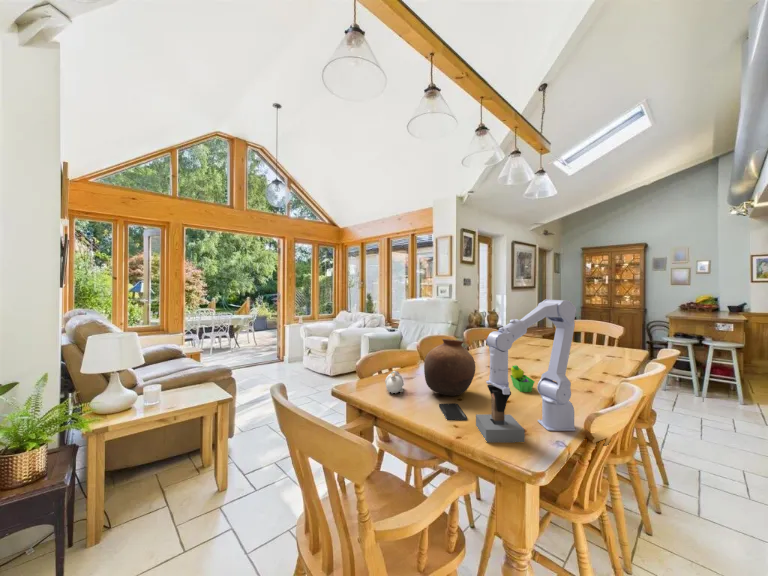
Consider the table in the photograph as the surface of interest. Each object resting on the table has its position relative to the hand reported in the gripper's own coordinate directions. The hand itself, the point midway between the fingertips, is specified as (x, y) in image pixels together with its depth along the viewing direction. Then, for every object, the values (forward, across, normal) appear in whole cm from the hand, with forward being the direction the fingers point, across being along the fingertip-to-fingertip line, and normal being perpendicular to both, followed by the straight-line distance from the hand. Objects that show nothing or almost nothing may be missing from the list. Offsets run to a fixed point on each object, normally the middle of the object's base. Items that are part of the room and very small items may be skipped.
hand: (498, 409), depth 108 cm
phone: (+9, -18, -12) cm, 23 cm away
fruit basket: (+8, -47, +26) cm, 54 cm away
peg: (+3, 0, 0) cm, 3 cm away
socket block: (+8, 0, 0) cm, 8 cm away
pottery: (+8, -40, -9) cm, 42 cm away
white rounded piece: (+8, -44, -34) cm, 56 cm away
